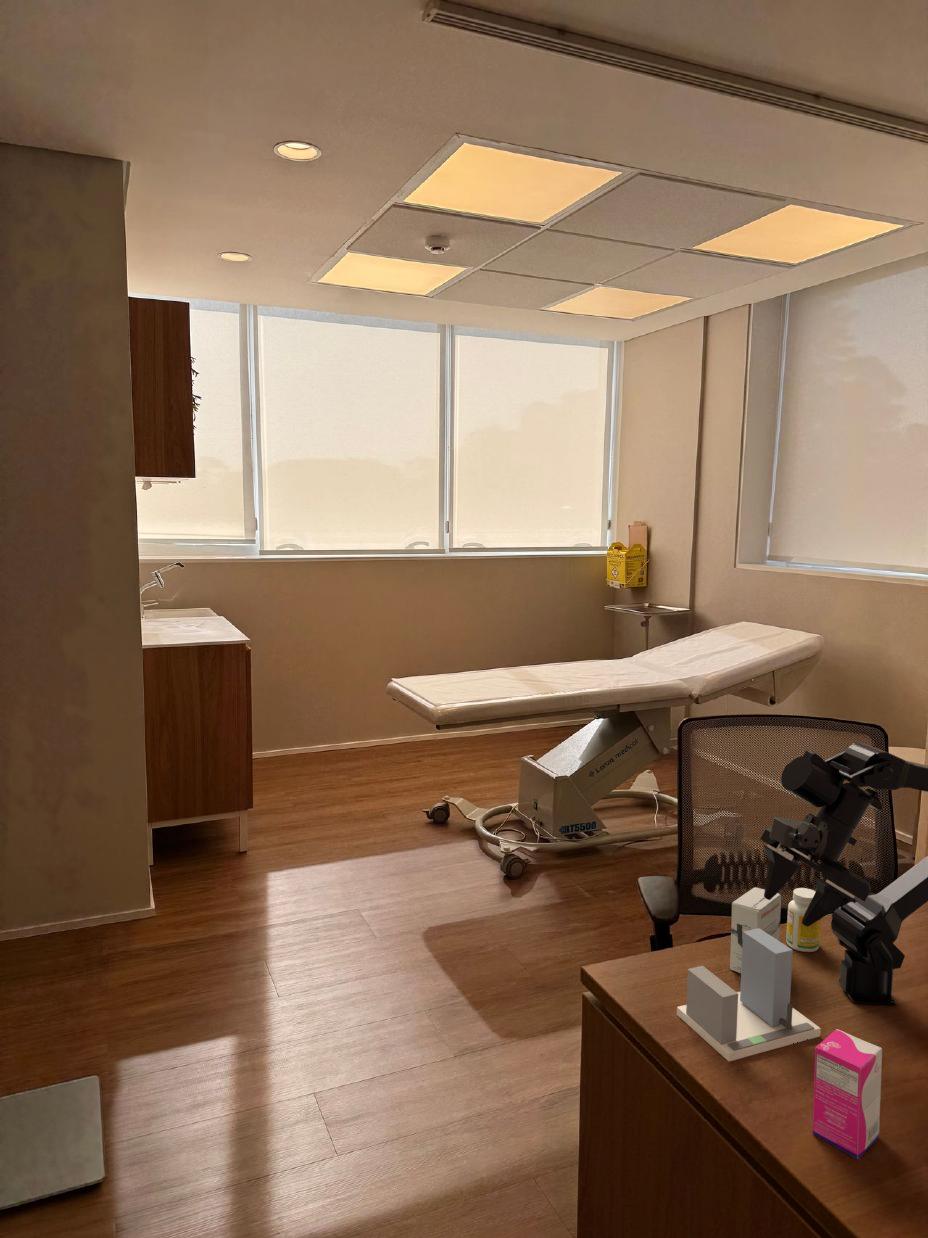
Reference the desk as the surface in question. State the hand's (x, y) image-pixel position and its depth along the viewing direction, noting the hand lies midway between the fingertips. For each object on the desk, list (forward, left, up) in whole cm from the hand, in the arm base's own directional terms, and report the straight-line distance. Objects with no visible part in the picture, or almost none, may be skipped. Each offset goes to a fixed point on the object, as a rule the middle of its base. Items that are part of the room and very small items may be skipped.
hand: (784, 911), depth 129 cm
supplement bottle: (-10, -20, -16) cm, 27 cm away
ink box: (+1, -12, -16) cm, 20 cm away
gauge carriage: (+3, +5, -14) cm, 15 cm away
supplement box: (0, +27, -16) cm, 31 cm away
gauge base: (+6, +5, -15) cm, 17 cm away
